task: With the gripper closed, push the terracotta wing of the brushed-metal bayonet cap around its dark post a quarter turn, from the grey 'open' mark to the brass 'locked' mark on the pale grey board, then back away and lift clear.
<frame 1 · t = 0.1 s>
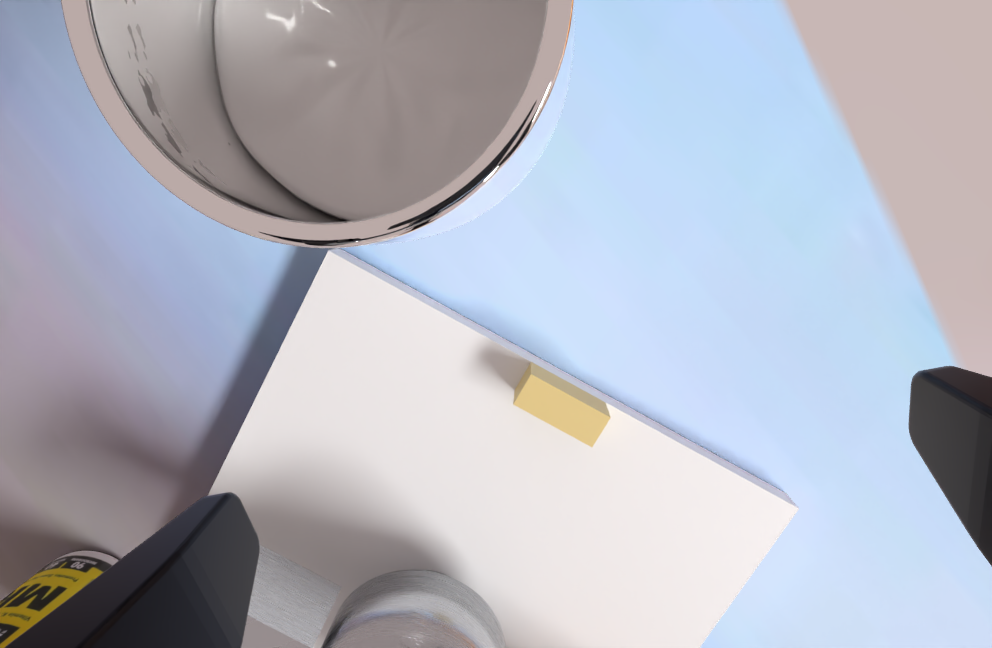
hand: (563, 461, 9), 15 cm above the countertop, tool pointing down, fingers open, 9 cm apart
coupling board: (446, 573, 26), on the countertop
beer glass: (453, 116, 23), on the countertop
supplement bottle: (99, 596, 28), on the countertop
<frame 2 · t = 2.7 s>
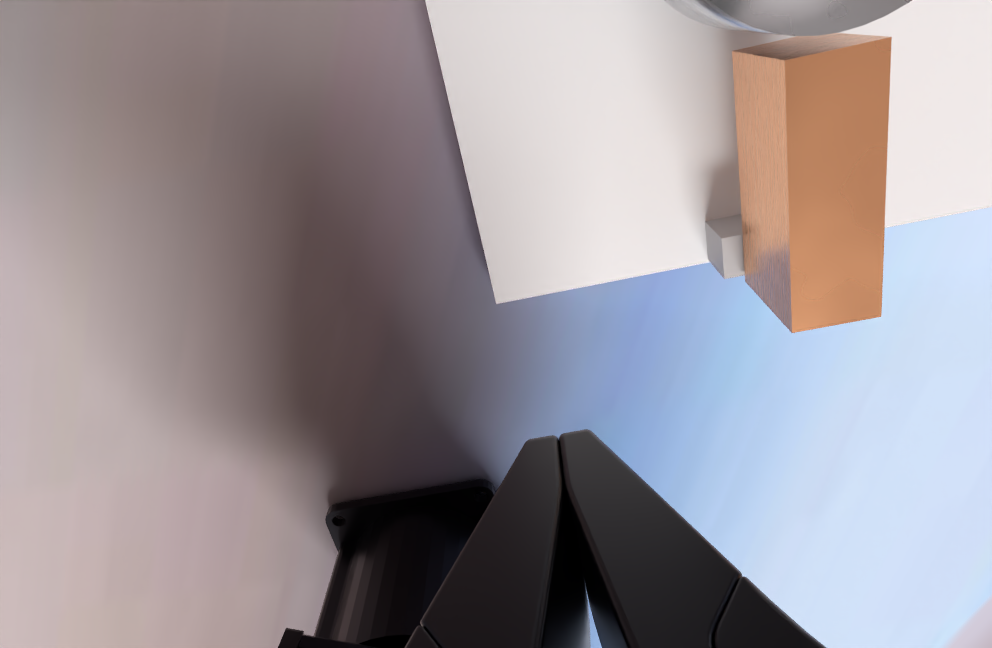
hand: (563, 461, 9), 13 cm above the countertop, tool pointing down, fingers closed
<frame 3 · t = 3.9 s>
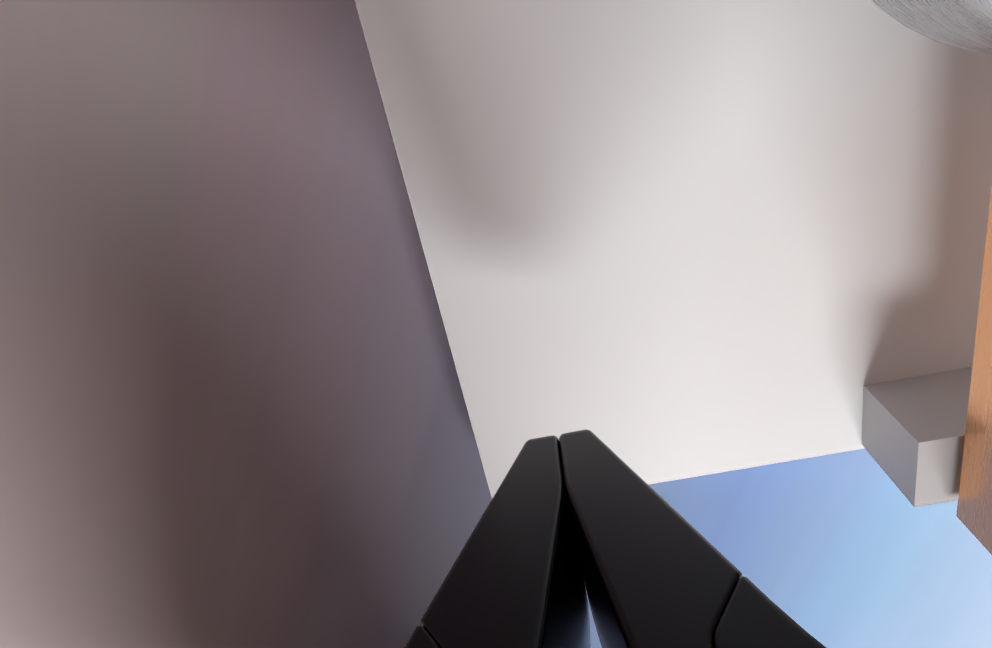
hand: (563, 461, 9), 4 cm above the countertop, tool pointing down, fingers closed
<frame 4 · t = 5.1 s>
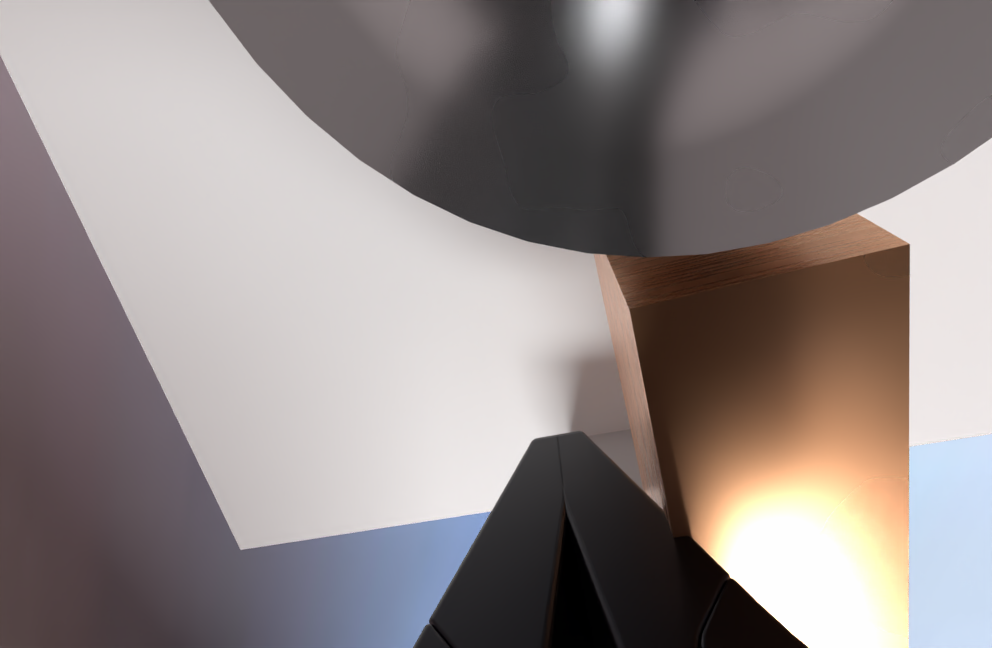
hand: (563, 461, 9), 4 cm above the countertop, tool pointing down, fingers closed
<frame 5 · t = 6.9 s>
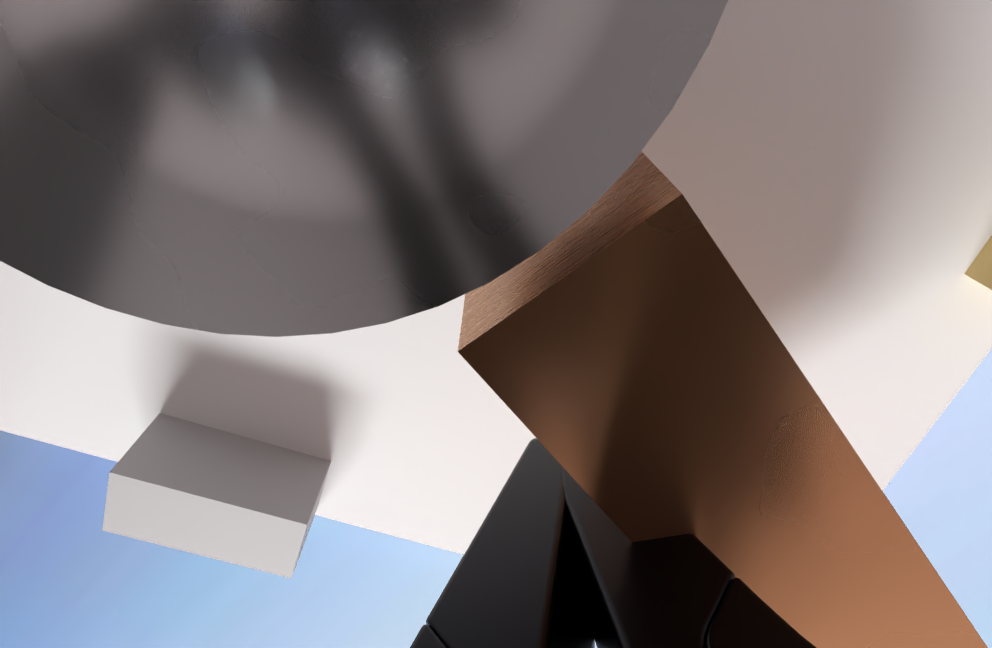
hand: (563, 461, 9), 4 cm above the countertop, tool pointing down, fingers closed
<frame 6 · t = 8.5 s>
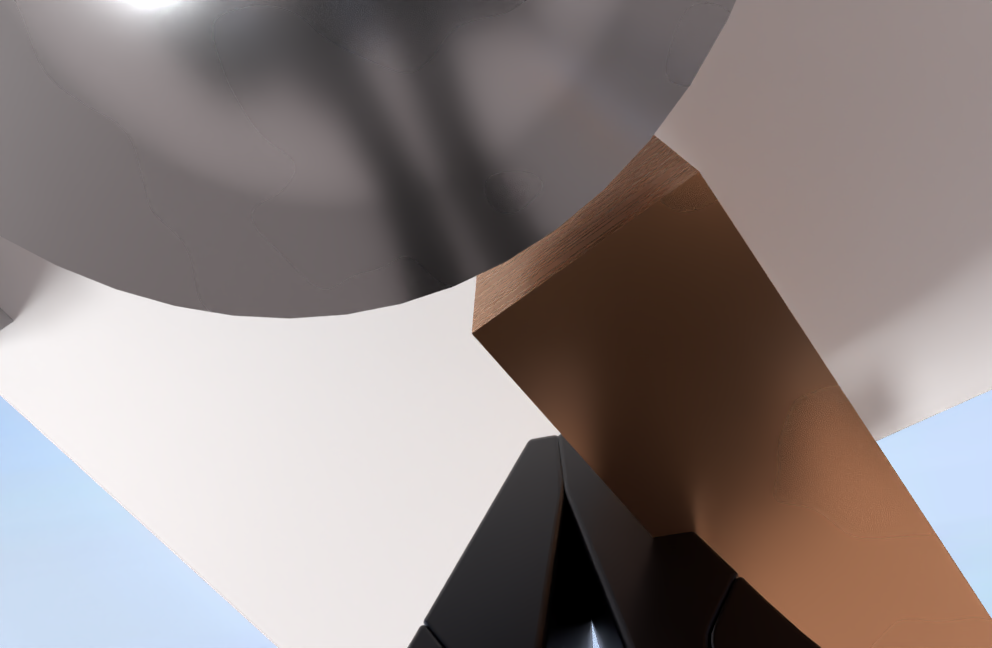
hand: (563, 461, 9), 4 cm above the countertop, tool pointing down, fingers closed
coupling board: (446, 19, 10), on the countertop
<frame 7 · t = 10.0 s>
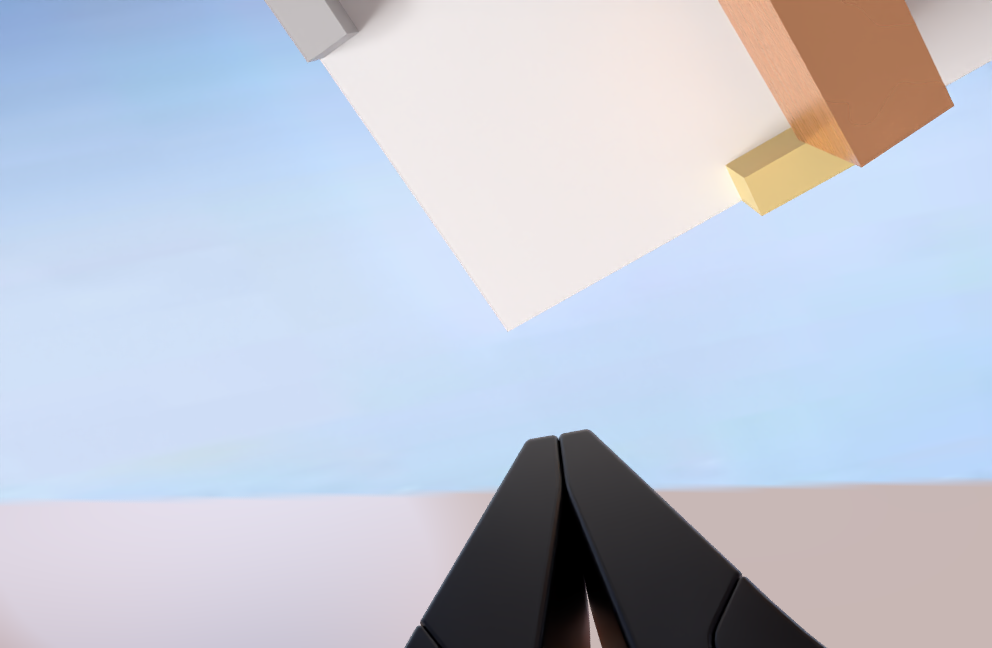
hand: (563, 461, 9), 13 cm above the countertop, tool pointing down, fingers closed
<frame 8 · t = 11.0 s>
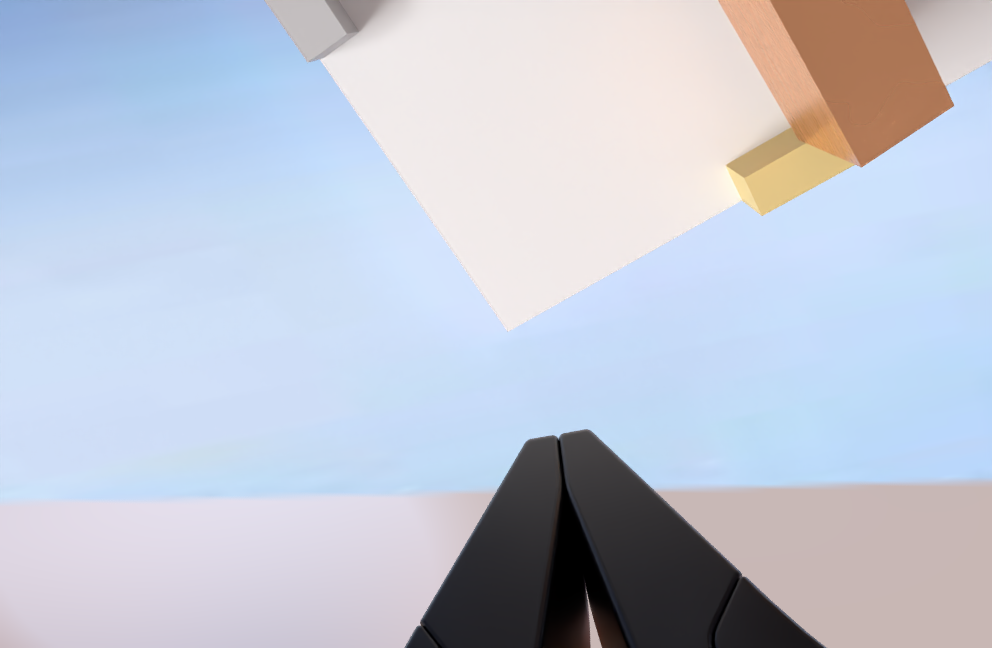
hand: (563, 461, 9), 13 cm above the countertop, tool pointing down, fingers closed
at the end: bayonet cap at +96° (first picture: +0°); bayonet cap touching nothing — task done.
